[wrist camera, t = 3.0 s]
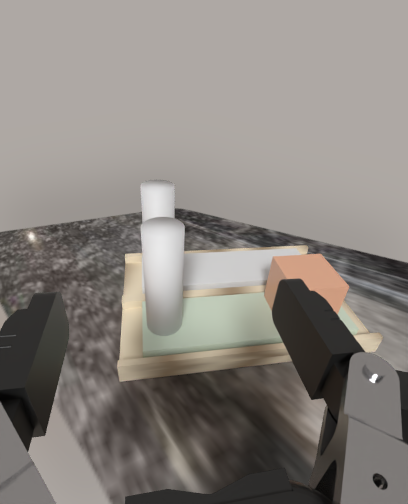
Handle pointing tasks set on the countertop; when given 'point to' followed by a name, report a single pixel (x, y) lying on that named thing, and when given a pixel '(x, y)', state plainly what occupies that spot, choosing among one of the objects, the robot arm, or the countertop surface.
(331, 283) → the cube
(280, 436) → the countertop surface
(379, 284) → the countertop surface
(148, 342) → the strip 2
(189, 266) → the strip
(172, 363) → the board
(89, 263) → the countertop surface
